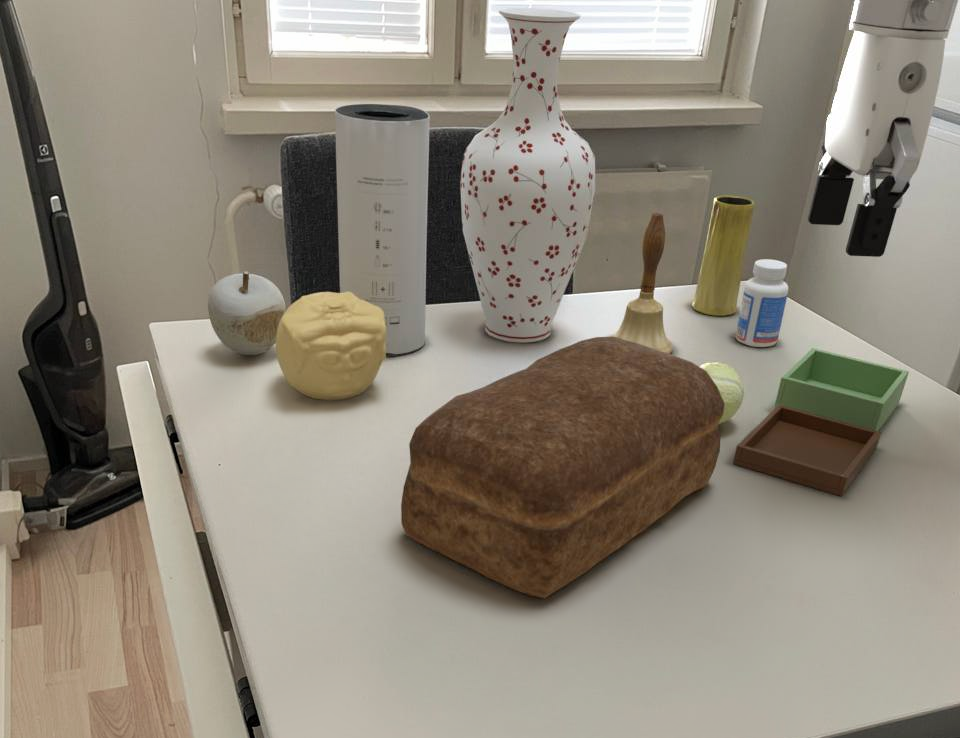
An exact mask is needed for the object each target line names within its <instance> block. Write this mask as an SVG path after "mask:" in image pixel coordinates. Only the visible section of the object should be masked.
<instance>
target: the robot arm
mask: <svg viewBox="0 0 960 738" xmlns="http://www.w3.org/2000/svg"><path fill="white" fill-rule="evenodd" d="M958 2H959V0H855V1H854V4H853V5H854V6H853V10H852V14H851V19H850V23H849V27H848V30H850V31H853V36H852V38H851V41H850V44H849V47H848V50H847V54H846V57H845V60H844V63H843V66H842V70H841V74H840V77H839V80H838V83H837V84H838V85H837V87H836V91H835V94H834V99H833V102H832V106H831V110H830V114H829V115H828V117H827V120H826V129H825V139H824V142H823V143H822V146H821V151H822V158H821V161H820V162H819V165H818V167H817V168H818V169H817V174H818V175H817V179H816V182H815V187H814V191H813V195H812V200H811V202H810V208H809V211H808V216H807V221H808V223H810V224H811V225H818V226H819V225H823V226H841V225H842V224H843V223H844V220H845V215H846V212H847V208H848V204H849V200H850V196H851V192H852V189H853V184H854V181H855V178H853V177H850V176H851V175H852V174H853V173H855V174H857V175H859V176H862V199H863V201H862V203H857V206H856V210H855V212H854V217H853V220H852V224H851V228H850V232H849V235H848V238H847V242H846V243H847V244H846V247H845V253H846V254H847V255H848V256H851V257H873V258H879V257H882V256H883V255H884V254H885V252H886V248H887V245H888V241H889V237H890V234H891V231H892V228H893V224H894V220H895V218H896V215H897V214H896V213H897V210H898V209H899V208H900V207H901V205H902V203H903V196H904V195H905V194H906V193H907V191H908V189H909V188H910V186H911V183H910V181H911V179H912V177H913V176H914V174H915V173H916V172H917V171H918V169H919V165H920V162H921V159H922V155H923V151H924V148H925V144H926V140H927V137H928V132H929V128H930V124H931V120H932V116H933V112H934V109H935V104H936V99H937V95H938V90H939V87H940V86H939V85H940V80H941V76H942V70H943V69H942V68H943V62H944V56H945V46H946V39H948V37H949V33H950V29H951V27H952V23H953V20H954V16H955V13H956V10H957V6H958ZM877 180H882V181H881V182H880V183H879V184H878V185H877Z"/></svg>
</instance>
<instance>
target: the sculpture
mask: <svg viewBox="0 0 960 738" xmlns="http://www.w3.org/2000/svg"><path fill="white" fill-rule="evenodd" d="M385 344H386V325H385V316H384V312H383V310H382V309H381V308H380V307H378V306H375V305H373V304H370V303H368V302H366V301H364V300H361V299H359V298H358V297H356V296H355V295H354V294H353V293H352V292H349V291H347V292H344V293H340V292H334V291H333V292H332V291H320V292H314V293H310V294H307V295H302V296H300V298H299V299H297V300H296V301H294V302H293V303H291V305H289V306H288V308H287V309H285V313H284V314H283V316H282V318H281V320H280V322H279V325H278V329H277V333H276V343H275V353H276V358H277V362H278V365H279V368H280V371H281V372H282V374H283V376H284V377H285V379H286V380H287V382H288V384H289V385H290V386H291V387H292V388H294V390H296V391H298V392H299V393H301V394H303V395H305V396H307V397H309V398H311V399H316V400H322V401H323V400H324V401H336V400H345V399H349V398H353V397H354V398H355V397H356V396H359V395H360V394H362V393H363V392H365V391H366V390H367V389H368V388H369V387H370V386H371V385H372V383H373V382H374V380H376V377H377V375H378V373H379V371H380V369H381V366H382V363H383V362H384V361H385V360H386V358H387V356H386V347H385Z"/></svg>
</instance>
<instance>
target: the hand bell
mask: <svg viewBox="0 0 960 738" xmlns="http://www.w3.org/2000/svg"><path fill="white" fill-rule="evenodd" d="M665 228H666V227H665V220H664V213H663V212H658V211H657V212H652V213H651V216H650V219H649V221H648V224H647V225H646V228H645V231H644V234H643V238H642V239H643V240H642V245H641V247H642V249H641V250H642V253H641V255H642V261H643V273H642V276H641V277H642V278H641V284H640V287H639V290H640V291H639V296H638V297H637V298H635V299H632V300H629V302H628V303H627V305H626V309H625V312H624V316H623V319H622V322H621V324H620V325H619V327H618V329H617V330H616V332H615V333H614V334H612V335H610V337H617V338H620V339H624V340H627V341H631V342H635V343H638V344H641V345H644V346H647V347H650V348H652V349H655V350H658V351H661V352H665V353H668V354H672V353H673V351H674V346H673V344H672V341H671V340H670V339H669V338H668V336H667V333H666V331H665V326H664V306H663V304H662V303H661V302H659V301H658V300H656V299H655V298H654V295H655V289H656V286H655V285H656V277H657V271H658V266H659V264H660V261H661V259H662V256H663V253H664V250H665V243H666V229H665Z"/></svg>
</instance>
